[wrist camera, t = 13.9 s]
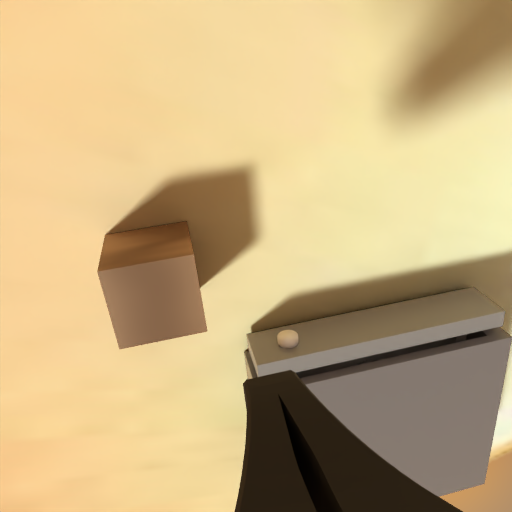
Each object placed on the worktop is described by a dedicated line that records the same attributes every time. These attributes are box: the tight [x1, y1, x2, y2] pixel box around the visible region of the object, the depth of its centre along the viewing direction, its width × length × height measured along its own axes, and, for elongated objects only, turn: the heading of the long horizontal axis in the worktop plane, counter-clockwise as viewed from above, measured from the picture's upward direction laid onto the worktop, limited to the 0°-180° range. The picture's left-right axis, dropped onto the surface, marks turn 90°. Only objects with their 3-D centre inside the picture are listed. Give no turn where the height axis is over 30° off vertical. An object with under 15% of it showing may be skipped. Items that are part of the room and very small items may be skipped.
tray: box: [247, 287, 505, 378], centre depth 25 cm, size 13×11×2 cm
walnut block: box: [97, 221, 207, 349], centre depth 19 cm, size 4×4×4 cm
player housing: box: [244, 327, 512, 497], centre depth 26 cm, size 13×11×3 cm
